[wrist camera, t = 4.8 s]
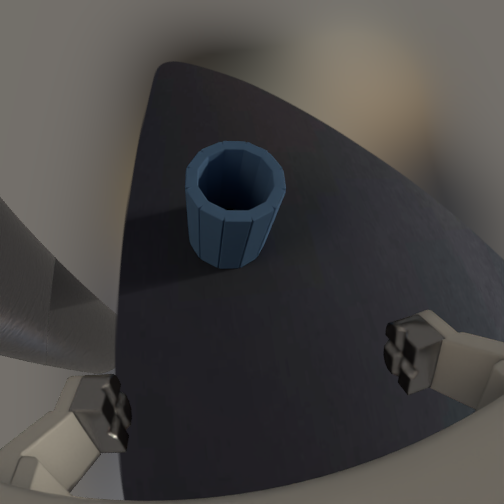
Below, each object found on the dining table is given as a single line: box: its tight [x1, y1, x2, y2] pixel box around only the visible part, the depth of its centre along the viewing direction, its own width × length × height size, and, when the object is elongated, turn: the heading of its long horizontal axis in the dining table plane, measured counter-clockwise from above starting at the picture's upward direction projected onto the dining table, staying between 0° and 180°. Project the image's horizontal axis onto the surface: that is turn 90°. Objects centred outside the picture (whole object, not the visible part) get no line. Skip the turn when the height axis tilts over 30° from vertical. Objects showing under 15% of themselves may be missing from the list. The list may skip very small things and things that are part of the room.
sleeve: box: [185, 141, 286, 269], centre depth 24 cm, size 6×6×8 cm
